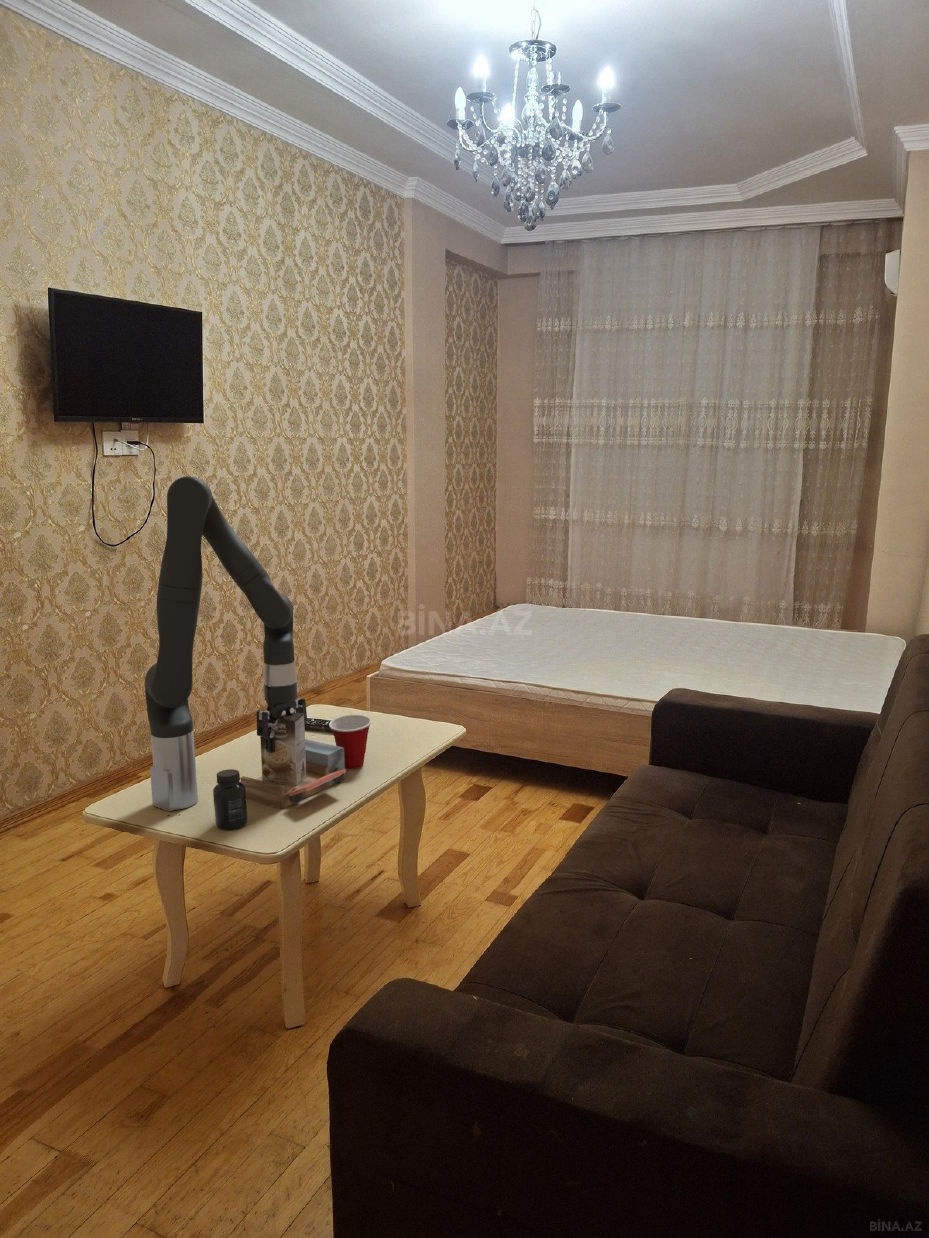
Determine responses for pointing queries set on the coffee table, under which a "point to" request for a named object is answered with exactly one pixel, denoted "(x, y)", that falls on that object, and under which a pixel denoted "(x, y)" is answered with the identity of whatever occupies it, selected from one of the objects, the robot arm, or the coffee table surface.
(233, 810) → the supplement bottle
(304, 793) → the wooden tray with block
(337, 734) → the plastic cup
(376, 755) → the coffee table surface
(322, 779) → the panel
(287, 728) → the coffee box
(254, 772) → the coffee table surface
